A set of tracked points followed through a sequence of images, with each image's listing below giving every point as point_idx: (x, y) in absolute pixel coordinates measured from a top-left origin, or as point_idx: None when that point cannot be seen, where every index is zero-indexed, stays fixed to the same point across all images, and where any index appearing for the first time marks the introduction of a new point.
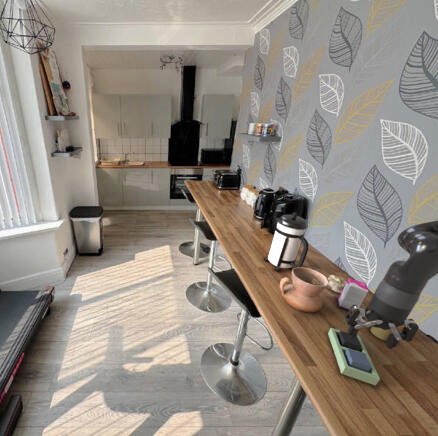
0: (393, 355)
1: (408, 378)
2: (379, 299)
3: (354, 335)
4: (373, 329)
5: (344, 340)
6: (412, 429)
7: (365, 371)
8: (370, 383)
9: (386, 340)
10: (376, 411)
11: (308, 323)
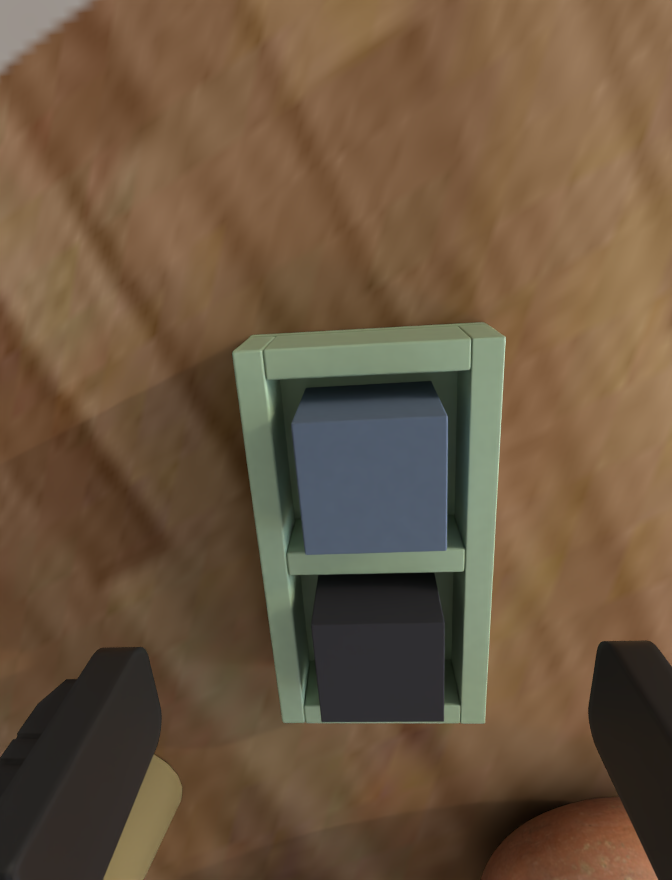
0: (89, 654)
1: (35, 510)
2: None
3: (662, 689)
4: (168, 806)
5: (444, 630)
6: (81, 27)
7: (319, 398)
8: (285, 334)
9: (138, 775)
10: (306, 55)
11: None
